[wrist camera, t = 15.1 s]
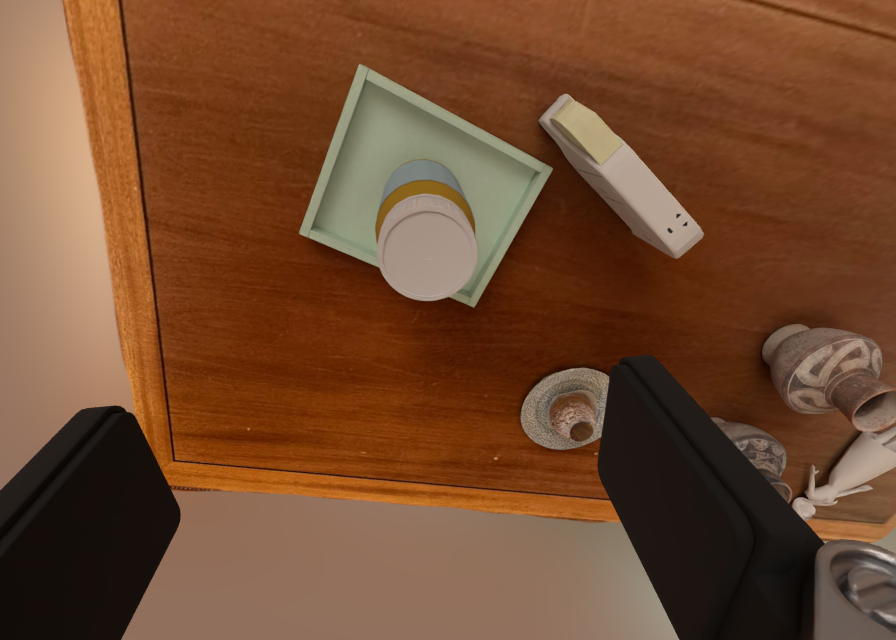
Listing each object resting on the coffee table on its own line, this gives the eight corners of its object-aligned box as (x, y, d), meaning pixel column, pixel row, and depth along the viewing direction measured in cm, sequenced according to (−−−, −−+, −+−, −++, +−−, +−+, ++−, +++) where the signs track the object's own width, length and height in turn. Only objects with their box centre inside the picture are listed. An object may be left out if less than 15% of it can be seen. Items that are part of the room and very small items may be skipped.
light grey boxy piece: (551, 97, 40) (656, 214, 44) (527, 122, 41) (633, 235, 44) (581, 84, 30) (716, 239, 33) (549, 118, 30) (684, 266, 34)
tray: (304, 226, 42) (298, 234, 40) (362, 64, 36) (359, 63, 34) (471, 297, 46) (474, 307, 44) (546, 164, 41) (553, 168, 39)
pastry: (511, 442, 56) (519, 470, 52) (528, 361, 51) (538, 385, 46) (603, 444, 57) (618, 471, 53) (629, 365, 52) (648, 389, 48)
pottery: (851, 325, 51) (965, 388, 41) (711, 474, 61) (773, 556, 51) (779, 291, 49) (881, 349, 38) (645, 454, 59) (696, 535, 48)
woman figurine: (953, 457, 56) (835, 538, 64) (919, 431, 60) (812, 510, 68) (891, 431, 53) (776, 519, 62) (860, 405, 57) (756, 492, 65)
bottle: (448, 244, 43) (465, 317, 29) (376, 225, 41) (359, 293, 28) (471, 170, 40) (500, 215, 26) (393, 147, 38) (383, 183, 25)
